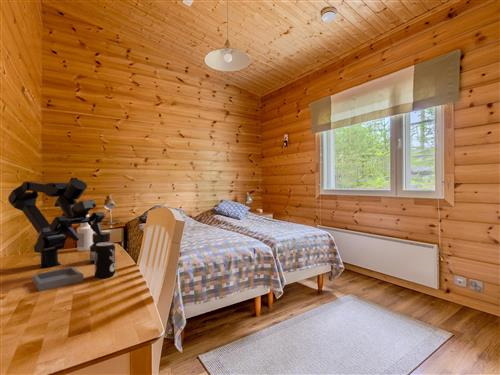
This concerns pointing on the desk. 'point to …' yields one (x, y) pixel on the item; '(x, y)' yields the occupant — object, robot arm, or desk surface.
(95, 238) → the ink bottle
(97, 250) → the beverage can
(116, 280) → the desk surface
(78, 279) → the gray rectangular tray
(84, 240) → the spray bottle
